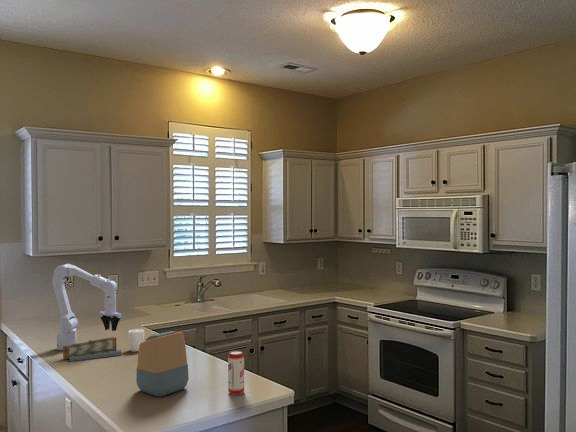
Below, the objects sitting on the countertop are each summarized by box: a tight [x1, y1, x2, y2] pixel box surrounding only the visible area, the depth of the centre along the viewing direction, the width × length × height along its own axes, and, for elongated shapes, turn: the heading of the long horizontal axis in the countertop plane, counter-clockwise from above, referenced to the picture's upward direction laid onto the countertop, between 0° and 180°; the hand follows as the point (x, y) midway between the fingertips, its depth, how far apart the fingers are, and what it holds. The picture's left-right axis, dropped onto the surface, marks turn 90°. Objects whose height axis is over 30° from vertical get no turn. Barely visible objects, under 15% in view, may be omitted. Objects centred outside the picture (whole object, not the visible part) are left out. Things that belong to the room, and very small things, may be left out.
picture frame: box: [62, 336, 118, 360], centre depth 263 cm, size 26×3×6 cm, turn 132°
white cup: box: [127, 328, 145, 352], centre depth 270 cm, size 8×8×10 cm
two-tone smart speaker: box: [135, 330, 189, 398], centre depth 210 cm, size 17×17×23 cm
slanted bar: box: [68, 349, 123, 362], centre depth 257 cm, size 24×3×2 cm, turn 114°
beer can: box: [227, 350, 245, 396], centre depth 206 cm, size 6×6×16 cm
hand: (110, 330), depth 274 cm, fingers open, 5 cm apart
